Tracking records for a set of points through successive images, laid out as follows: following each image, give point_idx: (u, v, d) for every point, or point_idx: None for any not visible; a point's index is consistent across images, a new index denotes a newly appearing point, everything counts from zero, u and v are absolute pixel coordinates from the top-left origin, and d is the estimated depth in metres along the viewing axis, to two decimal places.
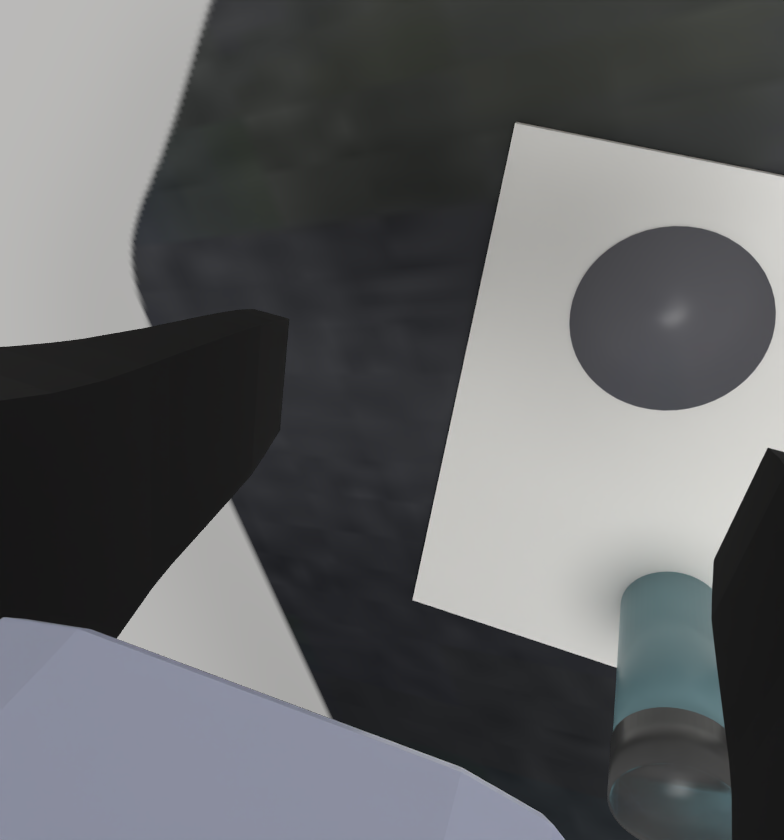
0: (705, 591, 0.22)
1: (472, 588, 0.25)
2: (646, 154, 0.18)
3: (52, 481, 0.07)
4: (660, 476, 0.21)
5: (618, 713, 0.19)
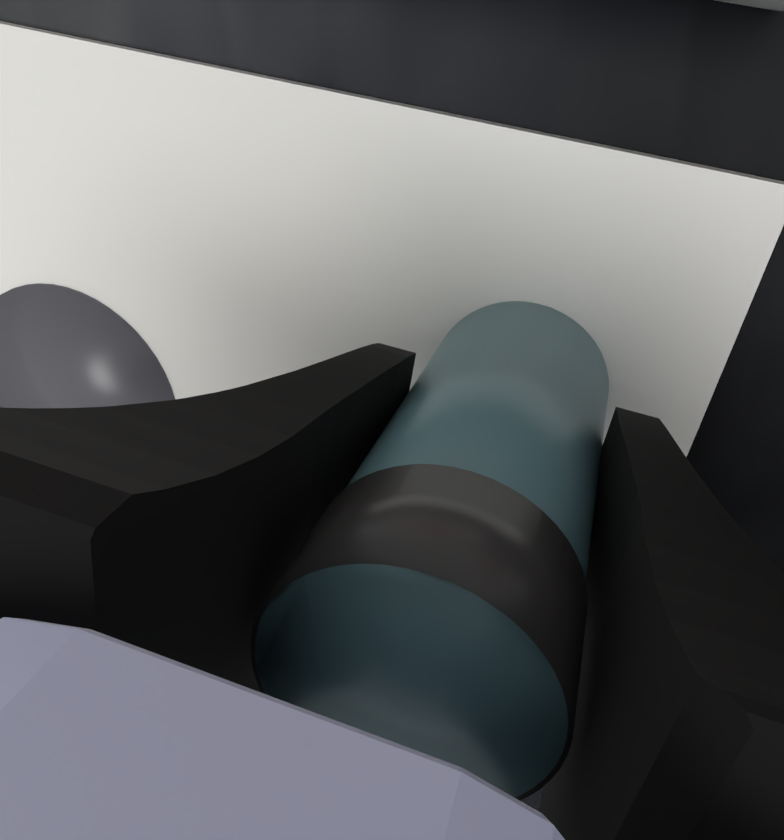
0: (441, 343, 0.12)
1: None
2: None
3: (247, 546, 0.07)
4: None
5: None
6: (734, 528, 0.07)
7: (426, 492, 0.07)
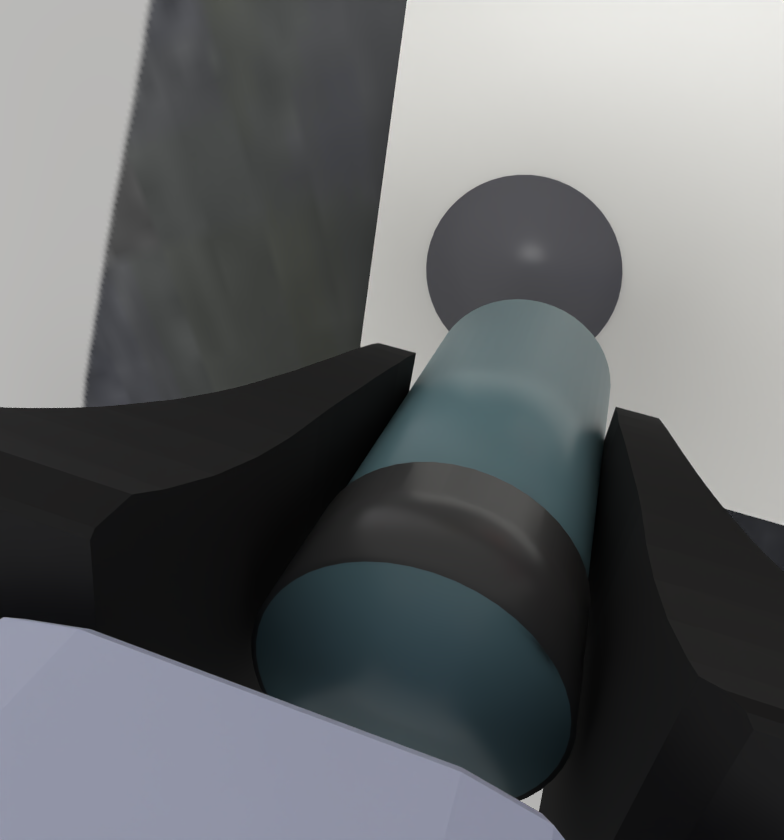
0: (442, 341, 0.12)
1: None
2: (370, 302, 0.21)
3: (246, 546, 0.07)
4: (716, 270, 0.18)
5: None
6: (734, 528, 0.07)
7: (428, 489, 0.07)
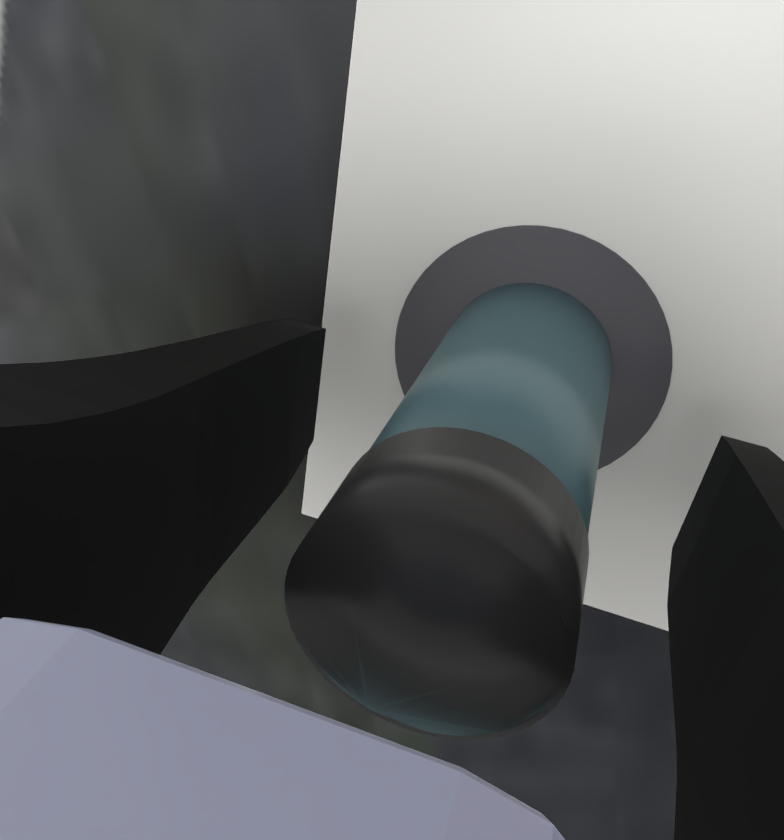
0: None
1: None
2: (320, 390, 0.15)
3: (108, 500, 0.07)
4: None
5: None
6: None
7: (444, 451, 0.08)
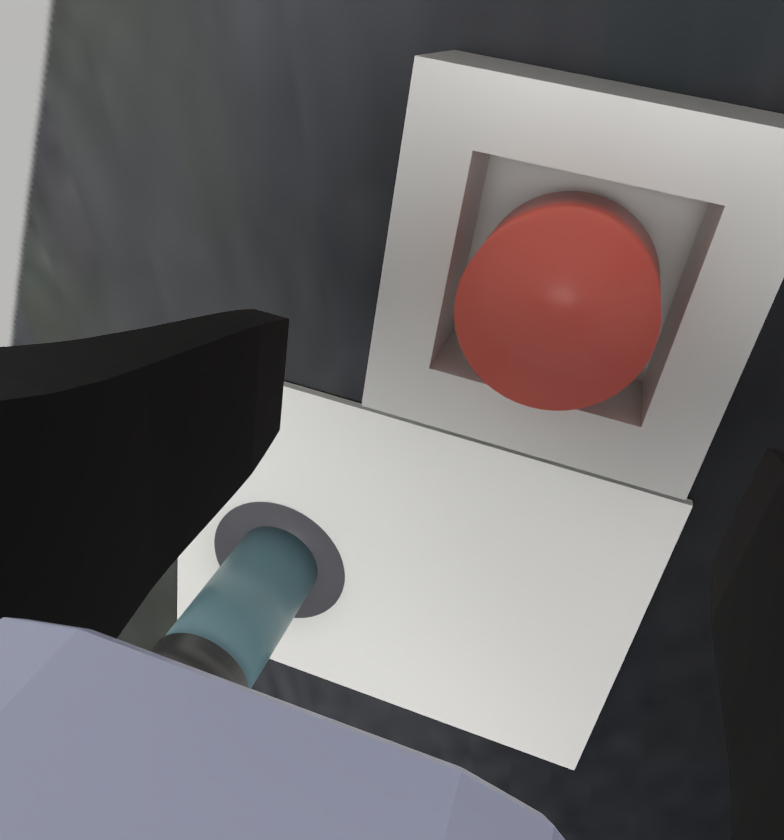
0: None
1: (550, 722, 0.26)
2: (180, 564, 0.28)
3: (53, 481, 0.07)
4: (403, 575, 0.25)
5: None
6: None
7: (181, 647, 0.21)
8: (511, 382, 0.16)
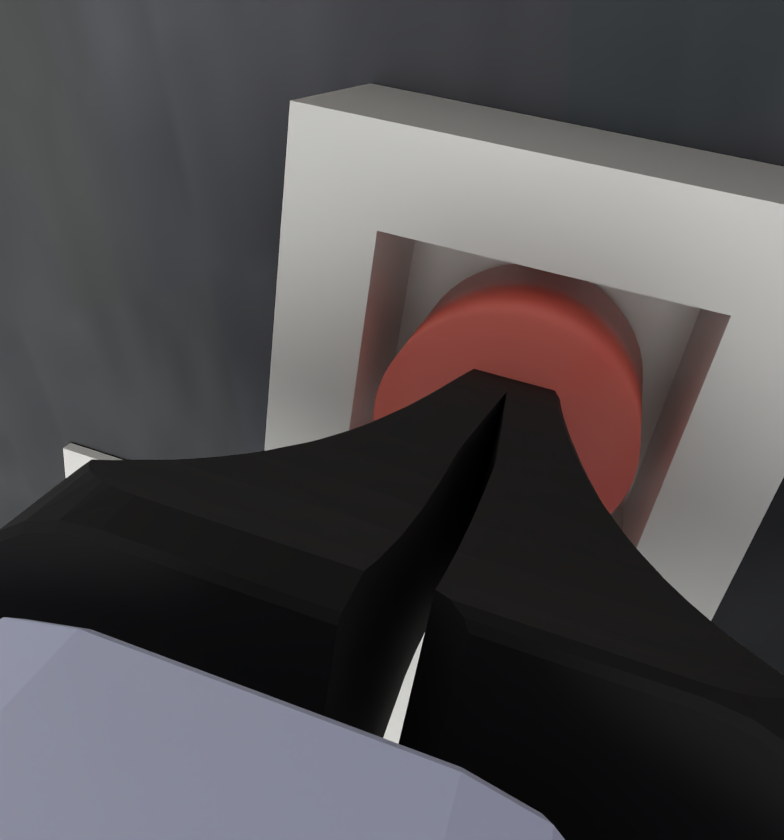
0: None
1: None
2: None
3: (402, 598, 0.06)
4: None
5: None
6: (583, 484, 0.07)
7: None
8: None
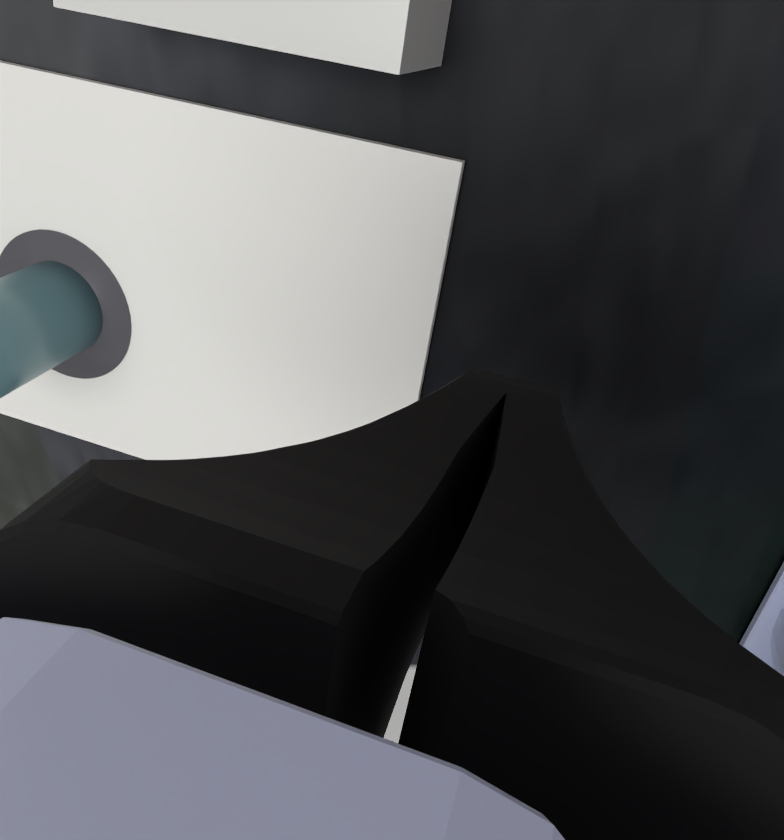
0: None
1: None
2: None
3: (402, 598, 0.06)
4: (187, 305, 0.23)
5: None
6: (584, 484, 0.07)
7: None
8: None
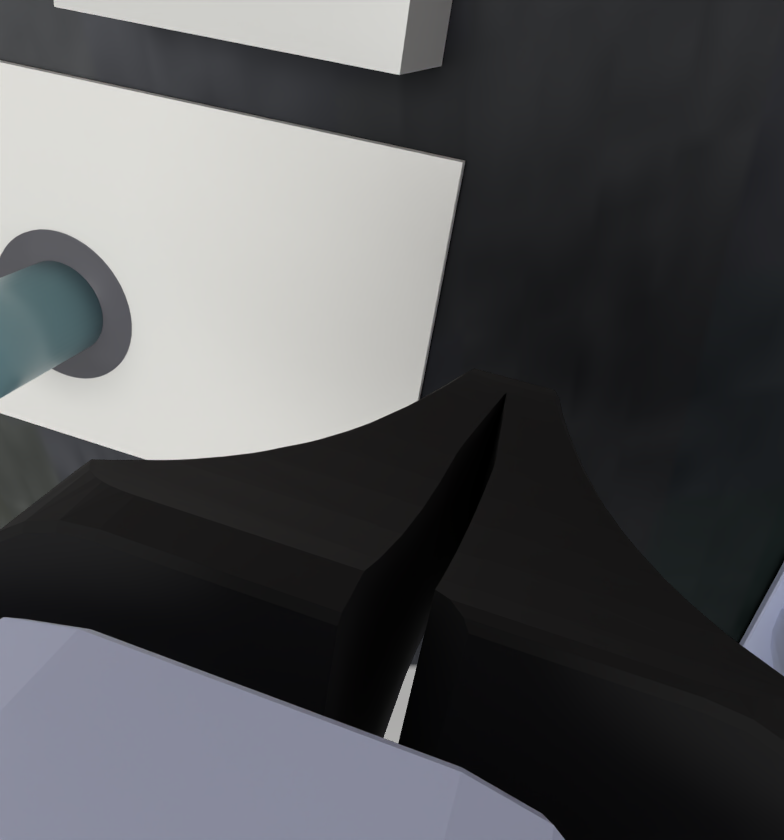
0: None
1: None
2: None
3: (402, 598, 0.06)
4: (187, 305, 0.23)
5: None
6: (583, 484, 0.07)
7: None
8: None
